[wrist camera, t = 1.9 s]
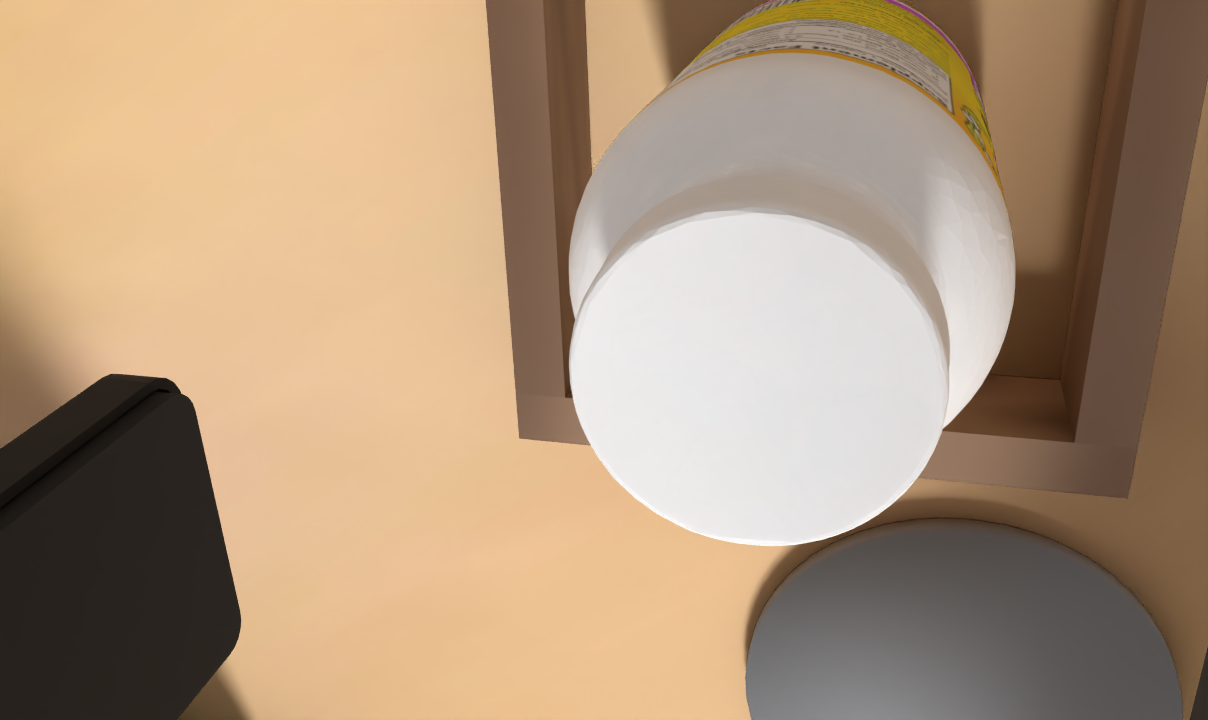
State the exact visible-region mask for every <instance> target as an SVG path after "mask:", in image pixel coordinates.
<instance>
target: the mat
mask: <svg viewBox="0 0 1208 720" xmlns="http://www.w3.org/2000/svg"><path fill="white" fill-rule="evenodd" d="M745 678H746V695H747V702H748V706H749V711H750V715H751V719H752V720H1183V709H1182V694H1181V690H1180V685H1179V681H1178V676H1177V672H1176V669H1175V665H1174V662H1173V658H1172V656H1171V653H1170V651H1169V648H1168V646H1167V643H1166V641H1165V639H1164V636H1163V634H1162V632H1161V631H1160V629H1159V628H1158V626H1157V624H1156V623H1155V621H1154V620H1153V618H1152V616H1151V615H1150V613H1149V612H1148V611H1147V609H1146V608H1145V607H1144V606H1143V605H1142V604H1141V602H1140V601H1139V600H1138V599H1137V598H1136V596H1135V595H1134V594H1133V593H1132V592H1131V591H1130V590H1129V589H1128V588H1127V587H1125V586H1124V585H1123V584H1122V583H1121V582H1120V581H1119V580H1118V579H1117V578H1115V577H1114V576H1113V575H1112V574H1111V573H1109V572H1108V571H1107V570H1105V569H1104V568H1102V567H1101V566H1099V565H1098V564H1096V563H1095V562H1094V561H1092V560H1091V559H1089V558H1088V557H1086V556H1084V555H1082V554H1080V553H1078V552H1076V551H1075V550H1073V549H1071V548H1069V547H1067V546H1065V545H1063V544H1061V543H1059V542H1056V541H1054V540H1051V539H1049V538H1046V537H1043V536H1041V535H1038V534H1036V533H1033V532H1030V531H1026V530H1022V529H1018V528H1015V527H1011V526H1007V525H1004V524H997V523H991V522H985V521H979V520H970V519H951V518H936V519H917V520H909V521H903V522H897V523H891V524H885V525H882V526H878V527H875V528H871V529H868V530H864V531H860V532H858V533H855V534H853V535H850V536H848V537H846V538H843V539H841V540H839V541H836V542H834V543H832V544H831V545H829V546H827V547H825V548H824V549H822V550H820V551H818V552H817V553H815V554H813V555H812V556H811V557H809V558H808V559H807V560H805V561H804V562H803V563H802V564H800V565H799V566H798V567H796V568H795V569H794V570H793V571H792V572H791V573H790V574H789V575H788V576H787V577H786V578H785V579H784V580H783V581H782V582H781V583H780V585H779V586H778V587H777V588H776V590H775V591H774V593H773V594H772V595H771V597H770V598H769V600H768V601H767V603H766V604H765V606H764V608H763V610H762V612H761V614H760V617H759V619H758V621H757V623H756V626H755V630H754V633H753V637H752V640H751V644H750V649H749V653H748V658H747V668H746V677H745Z"/></svg>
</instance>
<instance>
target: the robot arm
mask: <svg viewBox="0 0 1208 720" xmlns="http://www.w3.org/2000/svg"><path fill="white" fill-rule="evenodd" d="M240 628H241V614H240V609H239V604H238V600H237V595H236V591H235V586H234V582H233V577H232V573H231V568H230V564H229V559H228V555H227V551H226V546H225V542H224V537H223V533H222V528H221V524H220V519H219V515H218V510H217V506H216V501H215V497H214V492H213V488H212V483H211V479H210V474H209V470H208V465H207V461H206V456H205V452H204V447H203V443H202V438H201V434H200V429H199V425H198V420H197V416H196V411H195V409H194V406H193V403H192V402H191V400H190V399H189V398H188V397H187V396H185V395H183V394H181V392H180V390H179V388H178V387H177V386H176V384H175V383H174V382H172V381H171V380H169V379H167V378H158V377H147V376H135V375H124V374H110V375H108V376H105V377H103V378H101V379H100V380H98V381H97V382H96V383H94V384H93V385H91V386H90V387H88V388H87V389H86V390H84V391H83V392H81V393H80V394H78V395H77V396H76V397H74V398H73V399H71V400H70V401H68V402H67V403H66V404H64V405H63V406H61V407H60V408H58V409H57V410H56V411H54V412H53V413H51V414H50V415H48V416H47V417H46V418H44V419H43V420H41V421H40V422H38V423H37V424H36V425H34V426H33V427H31V428H30V429H28V430H27V431H26V432H24V433H23V434H21V435H20V436H18V437H17V438H16V439H14V440H13V441H11V442H10V443H8V444H7V445H6V446H4V447H3V448H1V449H0V720H177V719H178V718H179V716H180V715H181V714H182V713H183V711H184V710H185V709H186V708H187V706H188V705H189V704H190V703H191V702H192V700H193V699H194V698H195V697H196V695H197V694H198V693H199V692H200V691H201V689H202V688H203V687H204V686H205V684H206V683H207V682H208V681H209V679H210V678H211V677H212V676H213V675H214V673H215V672H216V671H217V670H218V668H219V667H220V666H221V665H222V664H223V662H224V661H225V660H226V659H227V657H228V656H229V655H230V654H231V652H232V650H233V649H234V647H235V645H236V643H237V640H238V637H239V633H240ZM1190 720H1208V649H1207V653H1206V657H1205V661H1204V665H1203V669H1202V673H1201V677H1200V681H1199V685H1198V689H1197V693H1196V697H1195V701H1194V705H1193V709H1192V713H1191V717H1190Z"/></svg>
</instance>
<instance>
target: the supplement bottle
mask: <svg viewBox="0 0 1208 720" xmlns="http://www.w3.org/2000/svg"><path fill="white" fill-rule="evenodd" d="M569 286H570V297H571V302H572V308H573V313H574V317H575V323H574V327H573V333H572V338H571V344H570V354H569V373H570V385H571V390H572V395H573V401H574V405H575V409H576V413H577V416H578V418H579V421H580V424H581V426H582V429H583V431H584V433H585V435H586V437H587V439H588V441H589V443H590V444H591V446H592V448H593V449H594V451H595V453H596V455H597V456H598V458H599V459H600V460H601V462H602V463H603V464H604V466H605V467H606V469H607V470H608V471H609V473H610V474H611V475H612V477H613V478H614V479H615V480H616V481H617V482H618V483H619V484H620V485H622V486H623V487H624V488H625V489H626V490H627V491H628V492H629V493H630V494H631V495H632V496H633V497H634V498H636V499H637V500H638V501H640V502H641V503H642V504H644V505H645V506H647V507H648V508H649V509H651V510H652V511H653V512H655V513H657V514H658V515H660V516H662V517H664V518H666V519H668V520H669V521H671V522H673V523H675V524H677V525H679V526H681V527H683V528H686V529H688V530H690V531H692V532H696V533H699V534H702V535H705V536H708V537H711V538H714V539H718V540H723V541H728V542H732V543H741V544H750V545H762V546H785V545H797V544H802V543H808V542H814V541H819V540H823V539H826V538H829V537H833V536H836V535H839V534H841V533H844V532H847V531H849V530H851V529H853V528H855V527H857V526H859V525H861V524H863V523H865V522H867V521H869V520H870V519H872V518H874V517H875V516H877V515H878V514H880V513H881V512H882V511H884V510H885V509H886V508H888V507H889V506H890V505H892V504H893V503H894V502H895V501H896V500H897V499H898V498H900V497H901V496H902V495H903V494H904V493H905V492H906V491H907V490H908V488H909V487H910V486H911V485H912V484H913V483H914V481H915V480H916V479H917V478H918V476H919V475H920V474H921V472H922V471H923V469H924V468H925V467H926V465H927V463H928V461H929V459H930V457H931V455H932V454H933V452H934V450H935V448H936V445H937V443H938V440H939V438H940V436H941V433H942V429H943V428H944V427H945V426H947V425H948V424H949V423H950V422H951V421H952V420H953V419H954V418H955V417H956V416H957V415H958V414H959V412H960V411H961V410H962V409H963V408H964V407H965V406H966V405H967V404H968V402H969V401H970V400H971V399H972V397H973V396H974V395H975V393H976V392H977V391H978V389H979V388H980V387H981V385H982V384H983V382H984V380H985V378H986V377H987V375H988V373H989V371H990V369H991V368H992V366H993V364H994V362H995V360H996V358H997V356H998V354H999V352H1000V349H1001V346H1002V344H1003V341H1004V338H1005V335H1006V332H1007V329H1008V325H1009V321H1010V316H1011V312H1012V307H1013V303H1014V294H1015V253H1014V246H1013V237H1012V229H1011V225H1010V221H1009V216H1008V212H1007V208H1006V204H1005V200H1004V195H1003V190H1002V186H1001V182H1000V177H999V173H998V168H997V164H996V158H995V154H994V150H993V145H992V141H991V136H990V132H989V128H988V122H987V119H986V113H985V109H984V105H983V102H982V99H981V96H980V92H979V90H978V87H977V84H976V81H975V79H974V77H973V74H972V72H971V70H970V68H969V66H968V64H967V63H966V61H965V59H964V58H963V56H962V55H961V53H960V52H959V50H958V49H957V47H956V46H955V45H954V43H953V42H952V41H951V40H950V39H949V38H948V36H947V35H946V34H945V33H944V32H943V31H942V30H941V29H940V28H939V27H938V26H936V25H935V24H934V23H933V22H932V21H931V20H929V19H928V18H927V17H925V16H924V15H923V14H921V13H920V12H918V11H916V10H915V9H913V8H911V7H910V6H908V5H906V4H904V3H902V2H899V1H897V0H770V1H768V2H766V3H764V4H762V5H760V6H757V7H756V8H754V9H752V10H751V11H749V12H748V13H746V14H745V15H743V16H742V17H740V18H739V19H737V20H736V21H735V22H733V23H732V24H731V25H730V26H728V27H727V28H726V29H725V30H723V31H722V32H721V33H720V34H719V35H718V36H717V37H716V38H715V39H714V40H713V41H712V42H711V43H710V44H709V45H708V46H707V47H705V48H704V49H703V50H702V51H701V53H700V54H699V55H698V56H697V57H696V58H695V59H694V60H693V61H692V62H691V63H690V64H689V65H688V66H687V67H686V68H685V69H684V70H683V71H682V72H681V73H680V74H679V75H678V76H677V77H676V78H675V79H674V80H673V81H672V82H671V83H670V84H669V85H668V86H667V87H666V88H665V89H664V90H663V91H662V92H661V93H660V94H659V95H658V96H657V97H656V98H655V99H654V100H653V101H651V102H650V103H649V104H648V105H647V106H646V107H645V108H644V109H643V110H642V111H641V112H640V113H639V114H638V115H637V116H636V117H635V118H634V119H633V120H632V121H631V122H630V123H629V124H628V125H627V126H626V127H625V128H624V129H623V130H622V131H621V133H620V134H619V135H618V136H617V138H616V139H615V140H614V141H613V143H612V144H611V145H610V146H609V148H608V149H607V150H606V152H605V154H604V155H603V157H602V159H601V160H600V162H599V163H598V165H597V167H596V169H595V170H594V172H593V174H592V176H591V178H590V180H589V182H588V184H587V186H586V188H585V191H584V194H583V196H582V199H581V202H580V204H579V207H578V210H577V213H576V217H575V221H574V226H573V231H572V236H571V242H570V251H569Z"/></svg>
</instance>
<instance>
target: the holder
mask: <svg viewBox="0 0 1208 720" xmlns="http://www.w3.org/2000/svg"><path fill="white" fill-rule="evenodd" d="M486 8H487V22H488V35H489V48H490V61H491V74H492V87H493V100H494V113H495V126H496V139H497V153H498V166H499V179H500V192H501V205H502V218H503V231H504V244H505V257H506V270H507V283H508V297H509V310H510V323H511V336H512V349H513V362H514V375H515V388H516V401H517V414H518V428H519V438H520V439H530V440H541V441H551V442H561V443H571V444H581V445H591V444H590V443H589V441H588V439H587V437H586V435H585V433H584V431H583V429H582V426H581V424H580V421H579V418H578V416H577V413H576V409H575V405H574V401H573V395H572V390H571V385H570V373H569V354H570V344H571V338H572V333H573V327H574V323H575V317H574V313H573V308H572V302H571V297H570V286H569V251H570V242H571V236H572V231H573V226H574V221H575V217H576V213H577V210H578V207H579V204H580V202H581V199H582V196H583V194H584V191H585V188H586V186H587V184H588V182H589V180H590V178H591V176H592V169H591V145H590V120H589V96H588V71H587V46H586V22H585V0H486ZM1207 79H1208V0H1118V2H1117V8H1116V15H1115V22H1114V28H1113V35H1112V41H1111V48H1110V54H1109V61H1108V68H1107V74H1106V81H1105V87H1104V94H1103V100H1102V107H1101V114H1100V120H1099V127H1098V133H1097V140H1096V146H1095V153H1094V160H1093V166H1092V173H1091V179H1090V186H1089V192H1088V199H1087V206H1086V212H1085V219H1084V225H1083V232H1082V238H1081V245H1080V252H1079V258H1078V265H1077V271H1076V278H1075V284H1074V291H1073V298H1072V304H1071V311H1070V317H1069V324H1068V331H1067V337H1066V344H1065V350H1064V357H1063V363H1062V370H1061V377H1060V380H1053V379H1039V378H1026V377H1013V376H1000V375H987V377H986V378H985V380H984V382H983V384H982V385H981V387H980V388H979V389H978V391H977V392H976V393H975V395H974V396H973V397H972V399H971V400H970V401H969V402H968V404H967V405H966V406H965V407H964V408H963V409H962V410H961V411H960V412H959V414H958V415H957V416H956V417H955V418H954V419H953V420H952V421H951V422H950V423H949V424H948V425H947V426H945V427H944V428H943V429H942V433H941V436H940V438H939V440H938V443H937V445H936V448H935V450H934V452H933V454H932V455H931V457H930V459H929V461H928V463H927V465H926V467H925V468H924V469H923V471H922V472H921V474H920V475H919V476H918V478H925V479H935V480H945V481H956V482H966V483H976V484H986V485H996V486H1006V487H1016V488H1026V489H1037V490H1047V491H1057V492H1067V493H1077V494H1087V495H1097V496H1107V497H1117V498H1128V495H1129V490H1130V484H1131V479H1132V474H1133V468H1134V463H1135V458H1136V453H1137V447H1138V442H1139V437H1140V432H1141V426H1142V421H1143V416H1144V411H1145V405H1146V400H1147V395H1148V390H1149V384H1150V379H1151V374H1152V368H1153V363H1154V358H1155V353H1156V347H1157V342H1158V337H1159V332H1160V326H1161V321H1162V316H1163V311H1164V305H1165V300H1166V295H1167V290H1168V284H1169V279H1170V274H1171V268H1172V263H1173V258H1174V253H1175V247H1176V242H1177V237H1178V232H1179V226H1180V221H1181V216H1182V211H1183V205H1184V200H1185V195H1186V189H1187V184H1188V179H1189V174H1190V168H1191V163H1192V158H1193V153H1194V147H1195V142H1196V137H1197V132H1198V126H1199V121H1200V116H1201V111H1202V105H1203V100H1204V95H1205V89H1206V84H1207Z"/></svg>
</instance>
